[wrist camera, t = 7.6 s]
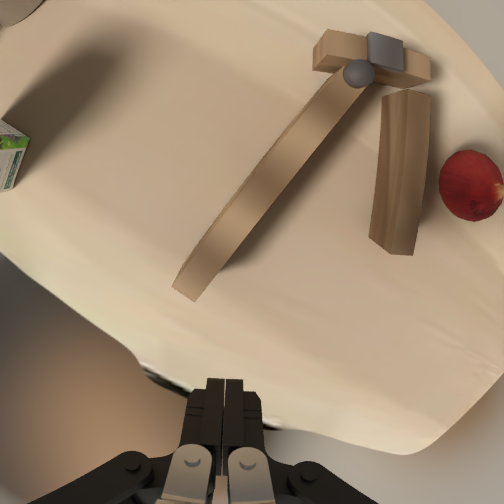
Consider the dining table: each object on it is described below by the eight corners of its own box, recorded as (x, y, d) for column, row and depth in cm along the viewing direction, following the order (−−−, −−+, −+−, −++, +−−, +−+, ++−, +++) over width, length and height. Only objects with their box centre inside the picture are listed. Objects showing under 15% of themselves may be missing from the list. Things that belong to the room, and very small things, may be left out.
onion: (471, 203, 24) (526, 223, 17) (427, 217, 25) (482, 243, 17) (463, 144, 22) (522, 149, 15) (417, 153, 23) (475, 160, 15)
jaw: (334, 71, 20) (357, 52, 15) (353, 87, 21) (381, 73, 16) (182, 265, 25) (167, 294, 20) (202, 278, 26) (192, 310, 20)
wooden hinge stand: (300, 232, 25) (314, 253, 20) (313, 46, 20) (330, 22, 15) (388, 238, 25) (417, 259, 20) (402, 66, 20) (435, 52, 15)
